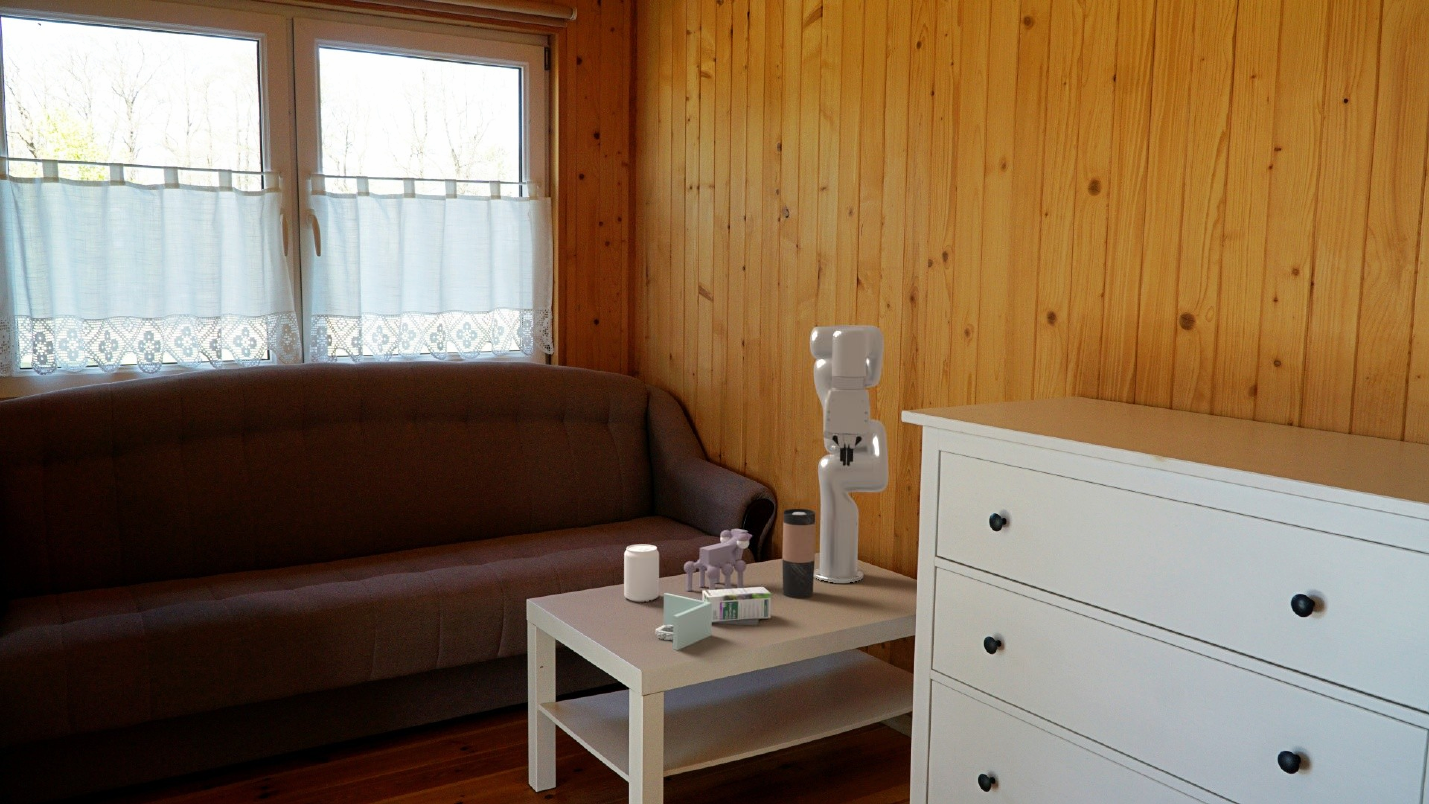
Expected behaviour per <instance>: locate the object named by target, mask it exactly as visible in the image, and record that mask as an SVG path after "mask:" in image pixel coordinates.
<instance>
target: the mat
mask: <svg viewBox="0 0 1429 804" xmlns="http://www.w3.org/2000/svg"><path fill="white" fill-rule="evenodd" d="M692 599H694V598H692ZM695 599H696V600H701V601H702V600H703V598H695ZM759 620H760V619H744V620H731V621H718V622H712V624H720V625H721V624H723V625H737V626H738V625H739V626H740V625H742V626H754V627H755V626H758V624H759Z"/></svg>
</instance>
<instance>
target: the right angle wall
mask: <svg viewBox="0 0 1429 804" xmlns="http://www.w3.org/2000/svg"><path fill="white" fill-rule="evenodd" d="M696 599H697V598H693V599H692V598H691V597H687V596H682V595H677V594H671V593H668V592H665V593H663V624H662V625H661V626H658V627H657V628H655V633H654V635H655V636H656V638H657V639H658V638H660V639H659V640H663V639H664V640H663V641H672V650H674V651H679V650H681V649H683V648H685V647H687V646H690V645H692V644H695V643H697V642H700V641H702V640H704V639H706V638H709V637H710V636H712V624H713V623H712V603H710V602H706V601H701V600H696Z"/></svg>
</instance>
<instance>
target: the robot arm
mask: <svg viewBox="0 0 1429 804" xmlns="http://www.w3.org/2000/svg"><path fill="white" fill-rule="evenodd" d="M883 336H884V335H883V333H882V331H881V329H880V328H879V327H878V326H876V325H862V324H861V325H860V324H859V325H856V324H855V325H854V324H853V325H852V324H851V325H849V324H842V325H841V324H837V325H831V326H830V325H829V326H814V327H813V329H812V330H811V333H810V338H809V348H810V349H809V350H810V353H811V356H812V357H813V359H815V362H814V365H813V381H814V387H815V390H816V394H817V396H818V399H819V401H820V403H821V406H822V414H823V417H822V418H823V423H822V424H823V427H822V428H823V436H822V437H823V443H824V444H823V445H824V448H825V450H826V452H827V453H828V454H826V455H824V456H822V458H821V459H820V460H819V461H818V466H817V474H818V482H819V493H820V523H819V524H820V525H819V526H820V528H819V529H820V530H819V532H820V533H819V567H818V568H816V569H814V579H816V578H817V579H816V580H818V579H819V580H818V581H821V580H824V581H828V582H827V583H830V582H833V583H832V584H851V583H850V582H853V583H856V582H855V581H857V582H859V581H858V580H860V581H862V580H863V579H864V573H863V571H861V570H859V569H858V555H859V553H858V549H859V547H858V546H859V519H860V517H859V508H858V505H857V504H856V501H855V500H854V499H853V498H852V497H851V496H850V494H849V493H881V492H883V491H884V490H885V489H886V488H887V487H888V483H889V473H890V472H889V460H888V458H889V457H888V443H887V442H888V439H887V432H886V428H885V425H884V424H883V423H882V422H881V421H880V420H877V419H871V400H870V392H869V389H866V388H873V387H876V386H877V385H878V384H879V383H880V380H881V376H882V366H883V359H884V351H885V347H884V345H885V341H884V337H883ZM862 578H863V579H862ZM861 579H862V580H861ZM824 581H823V582H824Z"/></svg>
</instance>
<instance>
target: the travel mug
mask: <svg viewBox="0 0 1429 804" xmlns="http://www.w3.org/2000/svg"><path fill="white" fill-rule="evenodd" d="M782 522H783V523H782V524H783V525H782V528H783V529H782V530H783V531H782V558H781V559H782V560H781V561H782V562H781V563H782V594H783V596H785V597H788V598H791V597H792V599H807V598H811V597H812V596H813V595H812V594H814V579H815V577H814V570H815V557H816V556H815V553H816V547H815V546H816V544H815V543H816V512H815V510H812V509H805V508H789V509H785V510H784V511H783V521H782Z"/></svg>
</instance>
